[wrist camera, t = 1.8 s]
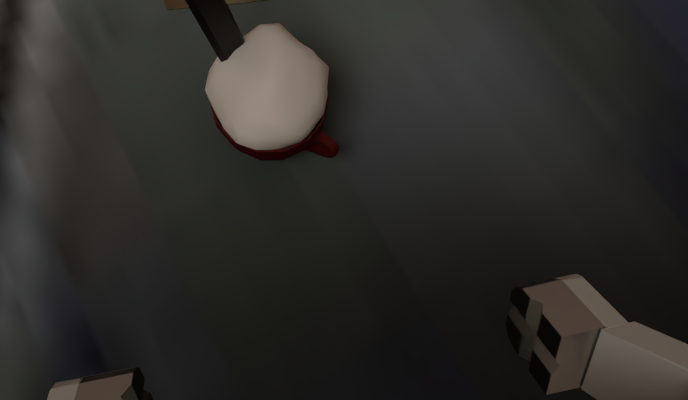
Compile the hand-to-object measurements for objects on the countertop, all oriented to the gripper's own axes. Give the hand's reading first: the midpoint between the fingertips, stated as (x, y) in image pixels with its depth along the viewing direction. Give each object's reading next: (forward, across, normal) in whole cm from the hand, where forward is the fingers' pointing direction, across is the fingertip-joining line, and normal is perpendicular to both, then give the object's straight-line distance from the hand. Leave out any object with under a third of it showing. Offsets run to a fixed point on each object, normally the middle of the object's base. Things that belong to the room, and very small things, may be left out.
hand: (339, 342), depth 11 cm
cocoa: (+21, 0, +3) cm, 21 cm away
